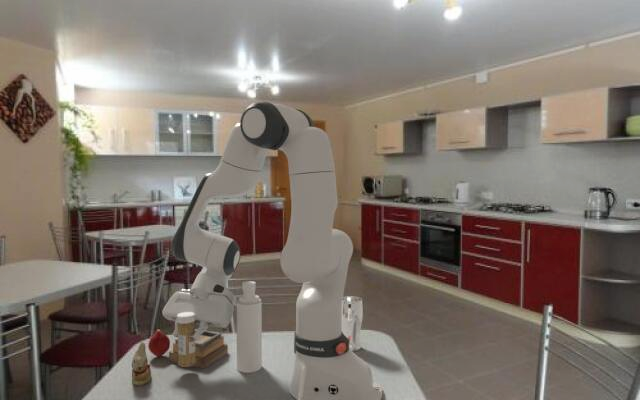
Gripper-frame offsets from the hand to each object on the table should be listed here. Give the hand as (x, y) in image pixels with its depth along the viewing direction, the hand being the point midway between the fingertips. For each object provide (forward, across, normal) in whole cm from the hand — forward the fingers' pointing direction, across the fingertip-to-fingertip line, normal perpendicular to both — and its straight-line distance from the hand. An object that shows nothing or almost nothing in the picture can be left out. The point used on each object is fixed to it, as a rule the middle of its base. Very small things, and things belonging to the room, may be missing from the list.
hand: (184, 337), depth 117 cm
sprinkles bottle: (+5, 0, +6) cm, 7 cm away
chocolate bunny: (+12, -8, +2) cm, 15 cm away
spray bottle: (0, +13, +14) cm, 19 cm away
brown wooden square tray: (0, -4, +14) cm, 14 cm away
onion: (+3, -14, +11) cm, 18 cm away
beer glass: (-16, +34, +31) cm, 49 cm away
